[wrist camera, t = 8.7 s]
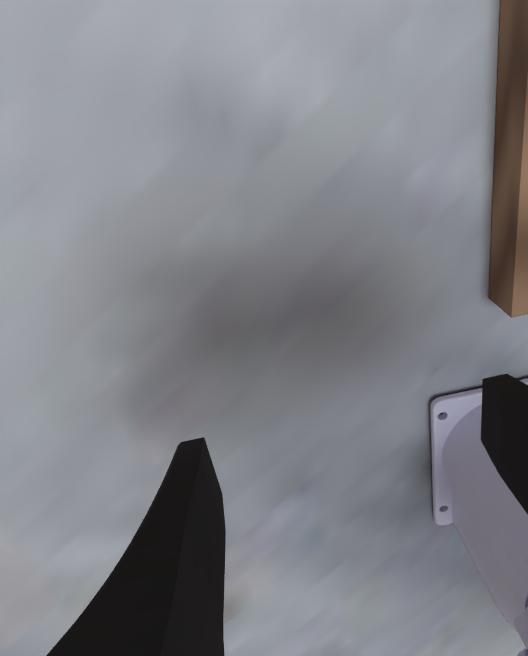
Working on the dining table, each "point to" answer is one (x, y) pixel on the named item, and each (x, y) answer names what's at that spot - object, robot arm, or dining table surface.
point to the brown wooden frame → (511, 165)
